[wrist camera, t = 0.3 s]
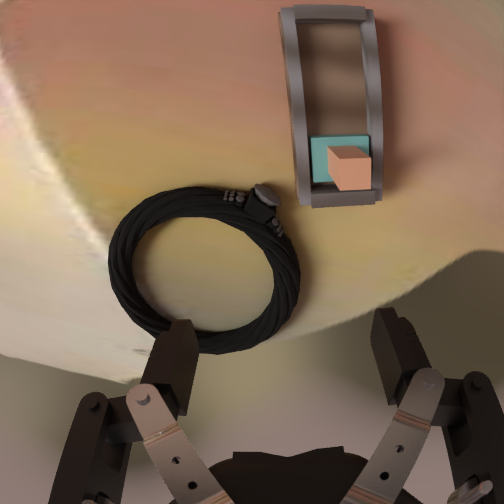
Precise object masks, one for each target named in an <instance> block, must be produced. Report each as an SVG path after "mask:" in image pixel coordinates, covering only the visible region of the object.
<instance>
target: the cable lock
mask: <svg viewBox="0 0 504 504" xmlns="http://www.w3.org/2000/svg"><path fill="white" fill-rule="evenodd" d="M244 196H245V193H243V192H240V191H238V192H237V195H236V191H233V190H232V191H231V192H230V191H229V190H226V192H224V191H221V190H217V189H209V188H203V187H185V188H179V189H175V190H171V191H164V192H160V193H158V194H156V195H153V196H151V197H149V198H147V199H145V200H143V201H142V202H141V203H140V204H138V205H137V206H136V207H135V208H133V209H132V210H131V211H130V212H129V213H128V214H127V215H126V216H125V217H124V218H123V219H122V221H121V222H120V224H119V225H118V227H117V229H116V230H115V232H114V235H113V237H112V240H111V242H110V245H109V254H108V267H109V276H110V281H111V287H112V289H113V291H114V293H115V295H116V297H117V299H118V301H119V302H120V304H121V306H122V307H123V308H124V310H125V311H126V313H127V314H128V315H129V317H130V318H131V319H132V320H133V322H134V323H136V324H137V325H138V326H140V327H141V328H143V329H144V330H145V331H147V332H148V333H149V334H151V335H152V336H153V337H154V338H155V339H156V338H157V337H158V336H159V335H160V334H161V333H162V331H169V330H170V327H171V324H172V323H171V322H170V321H168V320H166V319H164V318H162V317H161V316H159V315H158V314H157V313H156V312H155V311H154V310H153V309H152V308H151V307H150V306H149V305H148V304H147V303H146V302H145V300H144V299H143V298H142V297H141V295H140V294H139V292H138V290H137V288H136V285H135V281H134V278H133V273H132V266H131V262H132V256H133V253H134V251H135V249H136V246H137V244H138V242H139V240H140V239H141V238H142V236H143V235H144V234H145V233H146V231H148V230H149V229H151V228H152V227H154V226H156V225H158V224H160V223H163V222H165V221H167V220H169V219H172V218H175V217H205V218H212V219H217V220H219V221H221V222H224V223H226V224H228V225H230V226H232V227H234V228H237V229H239V230H241V231H243V232H245V233H246V234H247V235H248V236H249V237H250V238H251V239H252V240H253V241H254V242H255V243H256V244H257V245H258V246H259V247H260V248H261V249H262V250H263V251H264V253H265V255H266V257H267V259H268V261H269V263H270V265H271V267H272V269H273V275H274V290H273V294H272V298H271V302H270V303H269V305H268V306H267V307H266V309H265V310H264V312H263V313H262V314H261V315H260V316H259V317H258V318H257V319H255V320H254V321H252V322H251V323H249V324H248V325H245V326H243V327H241V328H238V329H236V330H232V331H227V332H218V333H201V332H198V331H195V334H196V338H197V341H198V345H199V353H204V354H216V355H220V354H225V353H231V352H236V351H242V350H246V349H250V348H252V347H254V346H256V345H257V344H259V343H261V342H263V341H265V340H267V339H269V338H270V337H271V336H273V335H274V334H275V333H277V331H278V330H279V329H280V327H281V326H282V325H283V324H284V323H285V322H286V321H287V320H289V318H290V316H291V313H292V311H293V309H294V307H295V306H296V304H297V300H298V295H299V291H300V274H301V273H300V268H299V263H298V259H297V255H296V253H295V250H294V248H293V245H292V243H291V241H290V239H289V238H288V237H287V235H286V234H285V233H284V231H283V230H284V228H283V227H282V226H281V223H280V221H279V218H278V217H277V216H276V206H277V205H281V201H280V198H279V196H278V195H277V194H276V193H275V192H274V191H273V190H272V189H271V188H269V187H266V186H263V185H260V184H255V189H254V188H253V187H252V189H251V191H250V193H249V195H248V197H247V199H246V200H245V199H244Z"/></svg>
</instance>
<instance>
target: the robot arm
mask: <svg viewBox="0 0 504 504" xmlns="http://www.w3.org/2000/svg"><path fill="white" fill-rule="evenodd" d="M371 347H372V350H373V353H374V357H375V360H376V363H377V366H378V370H379V373H380V376H381V380H382V384H383V387H384V391H385V394H386V398H387V402H388V405H394V404H397V408H398V410H397V412H396V413H395V415H394V417H393V419H392V421H391V423H390V425H389V426H388V428H387V430H386V432H385V434H384V436H383V437H382V439H381V441H380V443H379V444H378V446H377V448H376V450H375V451H374V453H373V455H372V456H371V458H370V460H367V459H365V458H363V457H361V456H359V455H355V454H351V453H345V452H344V448H343V446H339V447H331V448H321V449H315V450H312V451H309V452H305V453H302V454H298V455H295V456H291V457H284V456H279V455H273V454H268V453H263V452H233V458H231V459H227V460H224V461H221V462H219V463H216V464H215V465H213V466H211V467H210V468H207V467H206V465H205V464H204V462H203V461H202V459H201V458H200V457H199V455H198V454H197V452H196V451H195V449H194V448H193V446H192V445H191V444H190V442H189V441H188V439H187V437H186V436H185V435H184V433H183V431H182V430H181V428H180V426H179V425H178V424H177V418H178V415H180V416H186V414H187V409H188V405H189V400H190V395H191V390H192V385H193V380H194V376H195V371H196V366H197V362H198V357H199V345H198V341H197V338H196V334H195V331H194V328H193V324H192V321H191V320H190V319H181V320H173V321H172V324H171V327H170V330H169V331H162V333H161V334H160V335H159V336H158V337H157V338H156V340H155V342H154V345H153V348H152V351H151V353H150V357H149V359H148V362H147V365H146V367H145V370H144V373H143V376H142V379H141V382H140V384H139V385H137V386H135V387H133V388H132V389H131V390H130V391H129V392H128V394H127V395H126V396H122V397H116V398H110V399H107V398H106V396H105V395H104V394H102V393H100V392H92V393H89V394H87V395H86V396H84V397H83V398H82V399H81V401H80V403H79V406H78V408H77V411H76V414H75V417H74V420H73V422H72V425H71V428H70V432H69V434H68V437H67V440H66V443H65V446H64V450H63V453H62V456H61V459H60V463H59V466H58V469H57V472H56V476H55V479H54V483H53V487H52V490H51V494H50V498H49V502H48V504H120V503H121V497H122V492H123V487H124V481H125V476H126V471H127V466H128V461H129V456H130V451H131V446H132V442H136V441H141V440H144V441H143V443H144V445H145V448H146V449H147V451H148V453H149V455H150V457H151V459H152V461H153V462H154V464H155V466H156V468H157V470H158V471H159V473H160V475H161V477H162V478H163V480H164V482H165V484H166V485H167V487H168V489H169V490H170V492H171V494H172V495H173V497H174V498H175V499H174V500H172V501H171V502H170V503H169V504H423V503H421V502H420V501H418V499H416V498H415V497H414V496H412V495H411V494H410V493H408V492H407V491H406V490H405V489H403V488H402V487H403V486H404V484H405V482H406V480H407V478H408V476H409V474H410V472H411V470H412V468H413V466H414V464H415V462H416V460H417V458H418V456H419V454H420V452H421V450H422V447H423V445H424V443H425V441H426V439H427V436H428V434H429V431H430V428H431V426H441V427H442V431H443V435H444V439H445V443H446V448H447V452H448V456H449V461H450V466H451V471H452V476H453V481H454V486H455V491H454V492H453V493H452V494H451V495H450V496H449V498H448V501H447V504H504V414H503V411H502V408H501V406H500V403H499V400H498V398H497V396H496V393H495V391H494V388H493V386H492V384H491V381H490V379H489V378H488V377H487V376H486V375H485V374H484V373H482V372H477V371H473V372H470V373H468V374H467V375H466V376H465V377H464V379H449V378H444V377H443V375H442V374H441V373H440V372H439V371H438V370H436V369H433V368H432V367H431V365H430V363H429V360H428V358H427V356H426V353H425V351H424V349H423V347H422V344H421V342H419V338H418V336H417V335H416V332H415V329H414V327H413V326H412V324H411V323H410V322H409V321H408V320H407V319H406V318H405V317H400V318H398V316H397V314H396V312H395V309H394V308H393V307H386V308H377V309H376V310H375V314H374V319H373V325H372V330H371Z"/></svg>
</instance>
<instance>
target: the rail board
mask: <svg viewBox="0 0 504 504" xmlns="http://www.w3.org/2000/svg"><path fill="white" fill-rule="evenodd" d="M278 20H279V27H280V34H281V42H282V50H283V58H284V67H285V75H286V84H287V94H288V104H289V114H290V124H291V135H292V147H293V159H294V172H295V186H296V197H297V200H298V199H299V202H300V205H301V206H303V205H311V206H312V208H323V207H338V206H354V205H372V204H375V201H382V188H383V112H382V92H381V77H380V65H379V54H378V45H377V36H376V28H375V21H374V14H373V10H371V9H365V7H362V6H348V5H294V6H293V7H288V8H281V11H280V12H278ZM336 134H366V135H367V136H369V157H370V158H371V189H363V190H344V191H340V190H339V188H338V187H337V185H336V184H335V182H334V181H331V182H314V183H313V180H312V177H311V160H310V145H309V136H313V135H336Z"/></svg>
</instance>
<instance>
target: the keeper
mask: <svg viewBox="0 0 504 504" xmlns="http://www.w3.org/2000/svg"><path fill="white" fill-rule="evenodd" d="M309 145H310V160H311V177H312V180H313V183H314V182H331V181H334V182H335V184H336V185H337V187H338V188H339V190H340V191H344V190H363V189H371V158H370V157H369V136H367V135H366V134H336V135H313V136H309Z"/></svg>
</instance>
